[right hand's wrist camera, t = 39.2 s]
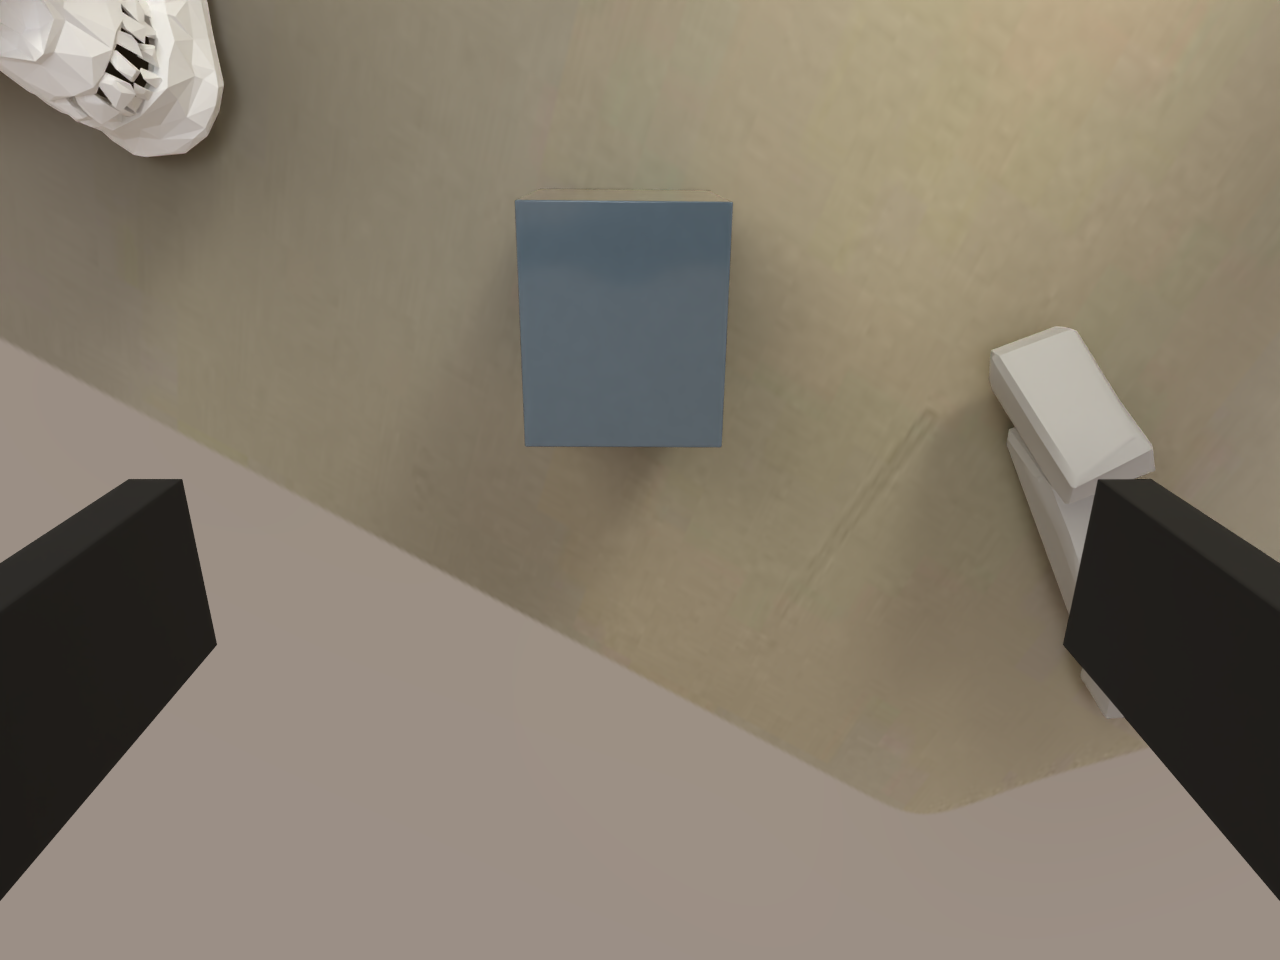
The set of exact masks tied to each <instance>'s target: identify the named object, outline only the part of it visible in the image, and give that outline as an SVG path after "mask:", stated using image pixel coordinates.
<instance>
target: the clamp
mask: <svg viewBox="0 0 1280 960" xmlns="http://www.w3.org/2000/svg"><path fill="white" fill-rule="evenodd" d="M989 381H990V384H991V388H992V391H993V392H994V394H995V396H996V397H997V399H998V400H999V402H1000V404H1001V405H1002V407H1003V409H1004V410H1005V412H1006V413H1007V415H1008V417H1009V418H1010V420H1011V421H1012V423H1013V425H1014V426H1015V427H1014V428H1011V429H1009V432H1008V438H1007V447H1008V450H1009V453H1010V455H1011V458H1012V461H1013V463H1014V466H1015V469H1016V472H1017V474H1018V477H1019V480H1020V483H1021V485H1022V488H1023V491H1024V493H1025V496H1026V499H1027V502H1028V504H1029V507H1030V510H1031V513H1032V515H1033V518H1034V521H1035V523H1036V526H1037V529H1038V532H1039V534H1040V537H1041V540H1042V543H1043V545H1044V548H1045V551H1046V553H1047V556H1048V559H1049V562H1050V564H1051V567H1052V570H1053V573H1054V575H1055V578H1056V581H1057V583H1058V586H1059V589H1060V592H1061V594H1062V597H1063V600H1064V603H1065V605H1066V608H1067V611H1068V614H1070V609H1071V605H1072V600H1073V595H1074V590H1075V586H1076V581H1077V576H1078V571H1079V567H1080V562H1081V557H1082V552H1083V548H1084V543H1085V538H1086V533H1087V528H1088V524H1089V519H1090V514H1091V509H1092V505H1093V500H1094V495H1095V490H1096V486H1097V481H1098V479H1135V478H1137V477H1140V476H1142V475H1145V474H1148V473H1150V472H1153V471H1155V462H1154V453H1153V445H1152V444H1151V442H1150V441H1149V440H1148V438H1147V437H1146V436H1145V434H1144V433H1143V431H1142V430H1141V429H1140V427H1139V426H1138V424H1137V423H1136V422H1135V420H1134V419H1133V418H1132V416H1131V415H1130V413H1129V412H1128V411H1127V409H1126V408H1125V406H1124V405H1123V404H1122V402H1121V401H1120V400H1119V398H1118V396H1117V395H1116V393H1115V391H1114V390H1113V388H1112V387H1111V385H1110V383H1109V382H1108V380H1107V378H1106V377H1105V375H1104V373H1103V372H1102V370H1101V369H1100V367H1099V365H1098V364H1097V362H1096V360H1095V359H1094V357H1093V356H1092V354H1091V352H1090V351H1089V349H1088V347H1087V346H1086V344H1085V343H1084V341H1083V339H1082V338H1081V336H1080V334H1079V333H1078V331H1077V330H1074V329H1071V328H1068V327H1059V326H1055V327H1052V328H1049V329H1046V330H1044V331H1041V332H1038V333H1036V334H1033V335H1030V336H1028V337H1025V338H1022V339H1020V340H1017V341H1014V342H1012V343H1009V344H1006V345H1004V346H1001V347H998V348H996V349H993V350H991V355H990V367H989ZM1080 676H1081V680H1082V681H1083V682H1084V683H1085V685H1086V686H1087V688H1088V690H1089V692H1090V693H1091V695H1092V697H1093V698H1094V700H1095V702H1096V704H1097V705H1098V707H1099V709H1100V710H1101V712H1102V714H1103V715H1104V716H1105V717H1106V718H1124V716H1123V715H1122V714H1121V713H1120V711H1119V710H1118V709H1117V708H1116V707H1115V706H1114V704H1113V703H1112V702H1111V701H1110V700H1109V698H1108V697H1107V696H1106V695H1105V694H1104V693H1103V691H1102V690H1101V689H1100V688H1099V687H1098V685H1097V684H1096V683H1095V682H1094V681H1093V680H1092V678H1091V677H1090V676H1089V675H1088V674H1087V672H1086V671H1085V670H1084V669H1083V668H1082V670H1081V675H1080Z"/></svg>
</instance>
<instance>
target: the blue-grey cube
mask: <svg viewBox="0 0 1280 960" xmlns="http://www.w3.org/2000/svg"><path fill="white" fill-rule="evenodd" d="M732 214H733V202H731V201H729V200H727V199H726V198H724V197H722V196H720V195H718V194H716V193H714V192H712V191H710V190H628V189H538V190H536V191H534V192H532V193H530V194H528V195H525V196H523V197H521V198H519V199H517V200H515V219H516V243H517V267H518V291H519V315H520V339H521V363H522V387H523V411H524V435H525V446H526V447H722V430H723V409H724V387H725V365H726V344H727V322H728V300H729V279H730V257H731V235H732Z"/></svg>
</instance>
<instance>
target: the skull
mask: <svg viewBox="0 0 1280 960" xmlns="http://www.w3.org/2000/svg"><path fill="white" fill-rule="evenodd" d="M121 7H122V8H123V9H124V10H125V12H126V13H127V14H128V15H129V16H130V17H129V16H128V15H126V14H124V13H123V12H122V9H121ZM121 28H123V29H124V30H126V31H127V32H128V33H130V34H131V35H130V34H127V33H125V32H122V31H121ZM132 35H133V36H134V37H136V38H137V39H138V40H140V41H141V42H143V43H144V44H141V43H137V41H136V40H135V39H134V38H133V36H132ZM145 36H146V37H148V39H149V45H148V44H145ZM117 44H118V45H120V46H122V47H124V48H126V49H128V50H130V51H131V52H133V53H135V54H137V56H138V57H139V58H141V59H143V60H145V61H147V62H149V64H148V70H145V69H143V68H140V71H139V70H138V69H137V68H136V67H135V66H134V65H133V64H132V63H130V62H129V61H128V60H127V59H126V58H125V57H124V56H122V55H121V54H120V53H119V52H118V51H117V50H115V48H116V45H117ZM109 61H110V62H111V64H112V65H113V66H114V67H115V68H116V70H118V71H119V72H120V73H121V74H122V75H124V76H125V77H126V78H127V79H128V80H130V81H131V82H134V81H135V80H136V78H137V77H138V75H139V74H140V72H141V74H142V77H143V79H144V80H145V81H146V82H147V83H146V85H145V87H144V88H143V87H141V86H139V85H138V84H136V83H134V89H133V88H132V86H131V84H130V83H128V82H125V81H123V80H121V79H119V78H117V77H115V76H113V75H111V74H109V73H107V72H105V70H106V68H107V66H108V63H109ZM0 71H1V72H2V73H4V74H5V75H7V76H8V77H9V78H11V79H12V80H13V81H15V82H16V83H17V84H19V85H20V86H21V87H23V88H24V89H25V90H27V91H28V92H30V93H33V94H35V95H36V96H37V97H39V98H40V99H41V100H43V101H44V102H45V103H46V104H48V105H49V106H51V107H53V108H54V109H56V110H58V111H59V112H61V113H64V114H68V115H69V116H71V117H72V118H73V119H74V120H75V121H76V122H80V123H83V124H85V125H88V126H90V127H93V128H95V129H98V130H100V131H102V132H103V133H104V134H105V135H107V136H108V137H109V138H110V139H111V140H112V141H113V142H115V143H116V144H118V145H120V146H121V147H123V148H124V149H126V150H127V151H129V152H130V153H132V154H133V155H138V156H143V157H151V156H162V155H173V154H184V153H187V152H188V151H189V150H190V149H192V148H193V147H194V146H195V145H197V144H198V143H199V142H200V141H202V140H203V139H204V138H205V137H207V136H208V134H209V132H210V130H211V128H212V126H213V124H214V122H215V120H216V117H217V115H218V113H219V111H220V105H221V99H222V93H223V88H224V81H223V77H222V72H221V68H220V63H219V59H218V54H217V50H216V45H215V41H214V36H213V31H212V26H211V20H210V14H209V8H208V3H207V0H0ZM99 87H100V88H101V90H102V91H103V92H104V94H105V95H106V96H107V98H108V99H107V98H105V97H102V96H100V95H98V94H96V93H97V91H98V88H99ZM135 96H136V97H135Z"/></svg>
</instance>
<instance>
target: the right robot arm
mask: <svg viewBox="0 0 1280 960" xmlns="http://www.w3.org/2000/svg"><path fill="white" fill-rule="evenodd" d="M216 645H217V643H216V638H215V633H214V629H213V624H212V619H211V614H210V610H209V605H208V600H207V595H206V590H205V586H204V581H203V576H202V571H201V567H200V562H199V557H198V552H197V548H196V543H195V538H194V533H193V529H192V524H191V519H190V514H189V509H188V505H187V500H186V495H185V490H184V486H183V481H182V479H128V480H127V481H125V482H124V483H122V484H121V485H119V486H118V487H116V488H115V489H113V490H112V491H110V492H108V493H107V494H105V495H104V496H102V497H101V498H99V499H98V500H96V501H95V502H93V503H92V504H90V505H89V506H87V507H86V508H84V509H83V510H81V511H79V512H78V513H76V514H75V515H73V516H72V517H70V518H69V519H67V520H66V521H64V522H63V523H61V524H60V525H58V526H57V527H55V528H53V529H52V530H50V531H49V532H47V533H46V534H44V535H43V536H41V537H40V538H38V539H37V540H35V541H34V542H32V543H30V544H29V545H27V546H26V547H24V548H23V549H21V550H20V551H18V552H17V553H15V554H14V555H12V556H11V557H9V558H8V559H6V560H5V561H3V562H2V563H0V900H1V899H2V898H3V897H4V896H5V895H6V893H7V892H8V891H9V890H10V889H11V887H12V886H13V885H14V884H15V883H16V882H17V880H18V879H19V878H20V877H21V876H22V874H23V873H24V872H25V871H26V870H27V869H28V867H29V866H30V865H31V864H32V863H33V861H34V860H35V859H36V858H37V857H38V856H39V854H40V853H41V852H42V851H43V850H44V848H45V847H46V846H47V845H48V844H49V843H50V841H51V840H52V839H53V838H54V837H55V835H56V834H57V833H58V832H59V831H60V830H61V828H62V827H63V826H64V825H65V824H66V823H67V821H68V820H69V819H70V818H71V817H72V815H73V814H74V813H75V812H76V811H77V809H78V808H79V807H80V806H81V805H82V804H83V802H84V801H85V800H86V799H87V798H88V797H89V795H90V794H91V793H92V792H93V791H94V789H95V788H96V787H97V786H98V785H99V783H100V782H101V781H102V780H103V779H104V778H105V776H106V775H107V774H108V773H109V772H110V771H111V769H112V768H113V767H114V766H115V765H116V763H117V762H118V761H119V760H120V759H121V757H122V756H123V755H124V754H125V753H126V752H127V750H128V749H129V748H130V747H131V746H132V745H133V743H134V742H135V741H136V740H137V739H138V737H139V736H140V735H141V734H142V733H143V732H144V730H145V729H146V728H147V727H148V726H149V724H150V723H151V722H152V721H153V720H154V719H155V717H156V716H157V715H158V714H159V713H160V711H161V710H162V709H163V708H164V707H165V706H166V704H167V703H168V702H169V701H170V700H171V698H172V697H173V696H174V695H175V694H176V693H177V691H178V690H179V689H180V688H181V687H182V685H183V684H184V683H185V682H186V681H187V679H188V678H189V677H190V676H191V675H192V674H193V672H194V671H195V670H196V669H197V668H198V666H199V665H200V664H201V663H202V662H203V661H204V659H205V658H206V657H207V656H208V655H209V654H210V652H211V651H212V650H213V649H214V648H215V646H216ZM1063 645H1064V646H1065V648H1066V649H1067V650H1068V651H1069V652H1070V654H1071V655H1072V656H1073V657H1074V658H1075V659H1076V661H1077V662H1078V663H1079V664H1080V665H1081V667H1082V668H1083V669H1084V670H1085V671H1086V672H1087V674H1088V675H1089V676H1090V677H1091V678H1092V680H1093V681H1094V682H1095V683H1096V684H1097V685H1098V687H1099V688H1100V689H1101V690H1102V691H1103V693H1104V694H1105V695H1106V696H1107V697H1108V698H1109V700H1110V701H1111V702H1112V703H1113V704H1114V706H1115V707H1116V708H1117V709H1118V710H1119V711H1120V713H1121V714H1122V715H1123V716H1124V717H1125V719H1126V720H1127V721H1128V722H1129V723H1130V724H1131V726H1132V727H1133V728H1134V729H1135V730H1136V732H1137V733H1138V734H1139V735H1140V736H1141V737H1142V739H1143V740H1144V741H1145V742H1146V743H1147V745H1148V746H1149V747H1150V748H1151V749H1152V750H1153V752H1154V753H1155V754H1156V755H1157V756H1158V757H1159V759H1160V760H1161V761H1162V762H1163V763H1164V765H1165V766H1166V767H1167V768H1168V769H1169V770H1170V772H1171V773H1172V774H1173V775H1174V776H1175V778H1176V779H1177V780H1178V781H1179V782H1180V783H1181V785H1182V786H1183V787H1184V788H1185V789H1186V791H1187V792H1188V793H1189V794H1190V795H1191V797H1192V798H1193V799H1194V800H1195V801H1196V802H1197V803H1198V805H1199V806H1200V807H1201V808H1202V810H1203V811H1204V812H1205V813H1206V814H1207V815H1208V817H1209V818H1210V819H1211V820H1212V821H1213V822H1214V824H1215V825H1216V826H1217V827H1218V828H1219V830H1220V831H1221V832H1222V833H1223V834H1224V835H1225V837H1226V838H1227V839H1228V840H1229V841H1230V843H1231V844H1232V845H1233V846H1234V847H1235V848H1236V850H1237V851H1238V852H1239V853H1240V854H1241V856H1242V857H1243V858H1244V859H1245V860H1246V861H1247V863H1248V864H1249V865H1250V866H1251V867H1252V869H1253V870H1254V871H1255V872H1256V873H1257V874H1258V876H1259V877H1260V878H1261V879H1262V880H1263V882H1264V883H1265V884H1266V885H1267V886H1268V887H1269V889H1270V890H1271V891H1272V892H1273V893H1274V895H1275V896H1276V897H1277V898H1278V899H1279V900H1280V563H1279V562H1277V561H1276V560H1274V559H1272V558H1271V557H1269V556H1268V555H1266V554H1265V553H1263V552H1262V551H1260V550H1259V549H1257V548H1256V547H1254V546H1253V545H1251V544H1250V543H1248V542H1246V541H1245V540H1243V539H1242V538H1240V537H1239V536H1237V535H1236V534H1234V533H1233V532H1231V531H1230V530H1228V529H1227V528H1225V527H1224V526H1222V525H1220V524H1219V523H1217V522H1216V521H1214V520H1213V519H1211V518H1210V517H1208V516H1207V515H1205V514H1204V513H1202V512H1201V511H1199V510H1198V509H1196V508H1194V507H1193V506H1191V505H1190V504H1188V503H1187V502H1185V501H1184V500H1182V499H1181V498H1179V497H1178V496H1176V495H1175V494H1173V493H1172V492H1170V491H1168V490H1167V489H1165V488H1164V487H1162V486H1161V485H1159V484H1158V483H1156V482H1155V481H1153V480H1152V479H1098V481H1097V486H1096V490H1095V495H1094V500H1093V505H1092V509H1091V514H1090V519H1089V524H1088V528H1087V533H1086V538H1085V543H1084V548H1083V552H1082V557H1081V562H1080V567H1079V571H1078V576H1077V581H1076V586H1075V590H1074V595H1073V600H1072V605H1071V609H1070V614H1069V619H1068V624H1067V629H1066V633H1065V638H1064V643H1063Z"/></svg>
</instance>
